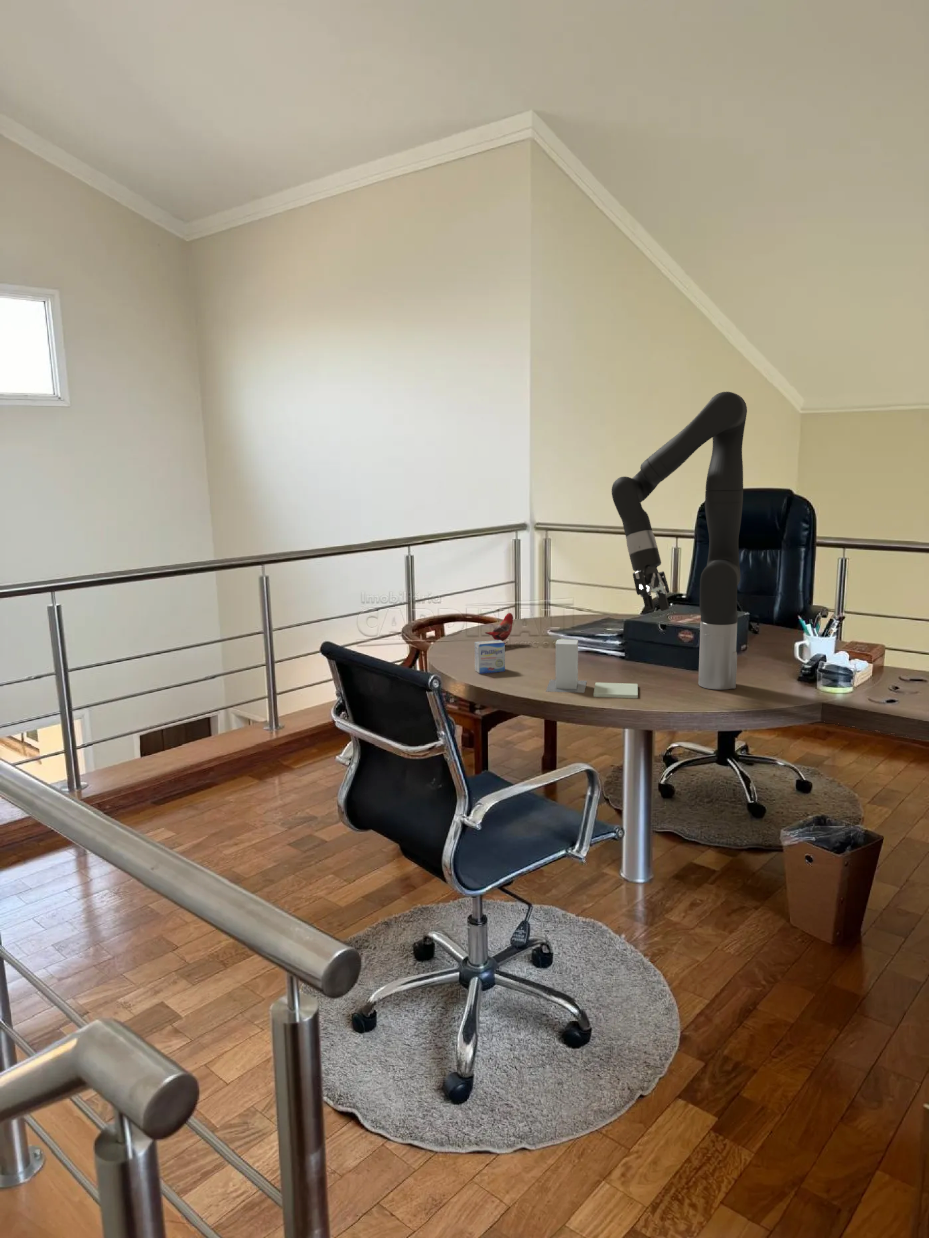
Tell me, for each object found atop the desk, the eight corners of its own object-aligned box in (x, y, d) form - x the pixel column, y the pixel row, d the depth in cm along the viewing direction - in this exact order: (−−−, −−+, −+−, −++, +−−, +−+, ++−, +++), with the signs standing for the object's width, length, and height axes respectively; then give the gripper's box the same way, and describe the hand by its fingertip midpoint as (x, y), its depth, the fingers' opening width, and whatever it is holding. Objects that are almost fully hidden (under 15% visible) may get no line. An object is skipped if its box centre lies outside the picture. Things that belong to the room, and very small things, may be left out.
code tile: (586, 681, 236) (586, 680, 236) (584, 693, 224) (584, 692, 224) (550, 680, 238) (550, 679, 238) (545, 692, 226) (545, 691, 226)
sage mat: (637, 687, 229) (637, 683, 229) (637, 699, 218) (637, 695, 218) (595, 686, 231) (595, 682, 231) (593, 697, 221) (593, 693, 220)
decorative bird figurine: (517, 641, 287) (517, 612, 285) (489, 652, 272) (488, 621, 270) (509, 640, 288) (509, 611, 286) (481, 651, 274) (481, 620, 272)
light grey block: (577, 683, 233) (578, 639, 231) (576, 688, 228) (576, 644, 226) (557, 682, 234) (557, 639, 232) (555, 688, 229) (555, 643, 227)
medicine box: (478, 674, 246) (478, 644, 244) (474, 670, 250) (474, 641, 248) (505, 672, 248) (505, 642, 246) (500, 668, 252) (500, 639, 250)
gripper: (643, 545, 220) (658, 606, 217) (667, 547, 231) (682, 606, 229) (617, 553, 224) (632, 614, 222) (643, 555, 235) (657, 613, 233)
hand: (658, 610), depth 225 cm, fingers open, 8 cm apart
